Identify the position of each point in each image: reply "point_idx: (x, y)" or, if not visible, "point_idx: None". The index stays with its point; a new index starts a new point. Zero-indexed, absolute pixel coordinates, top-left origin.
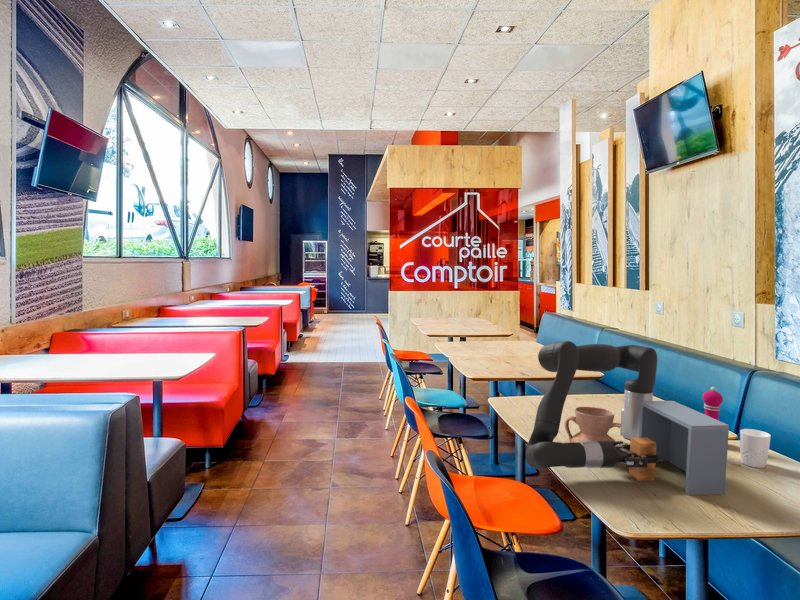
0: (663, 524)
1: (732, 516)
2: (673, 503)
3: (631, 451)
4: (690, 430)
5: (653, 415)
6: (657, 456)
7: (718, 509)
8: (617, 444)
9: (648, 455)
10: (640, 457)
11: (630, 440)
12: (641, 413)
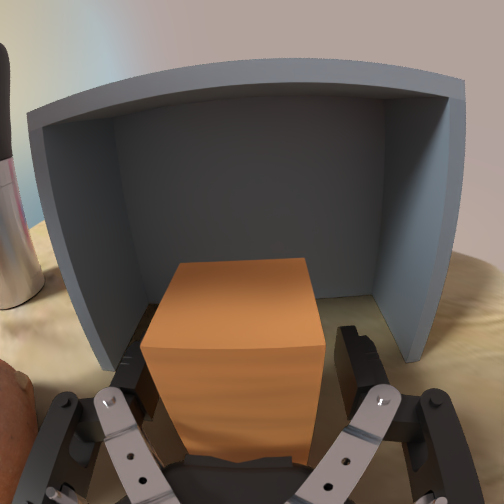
0: None
1: (499, 313)
2: (498, 414)
3: (335, 466)
4: (460, 103)
5: (81, 165)
6: (353, 328)
7: (479, 324)
8: (18, 373)
9: (363, 366)
10: (428, 428)
11: (149, 368)
12: (41, 171)
